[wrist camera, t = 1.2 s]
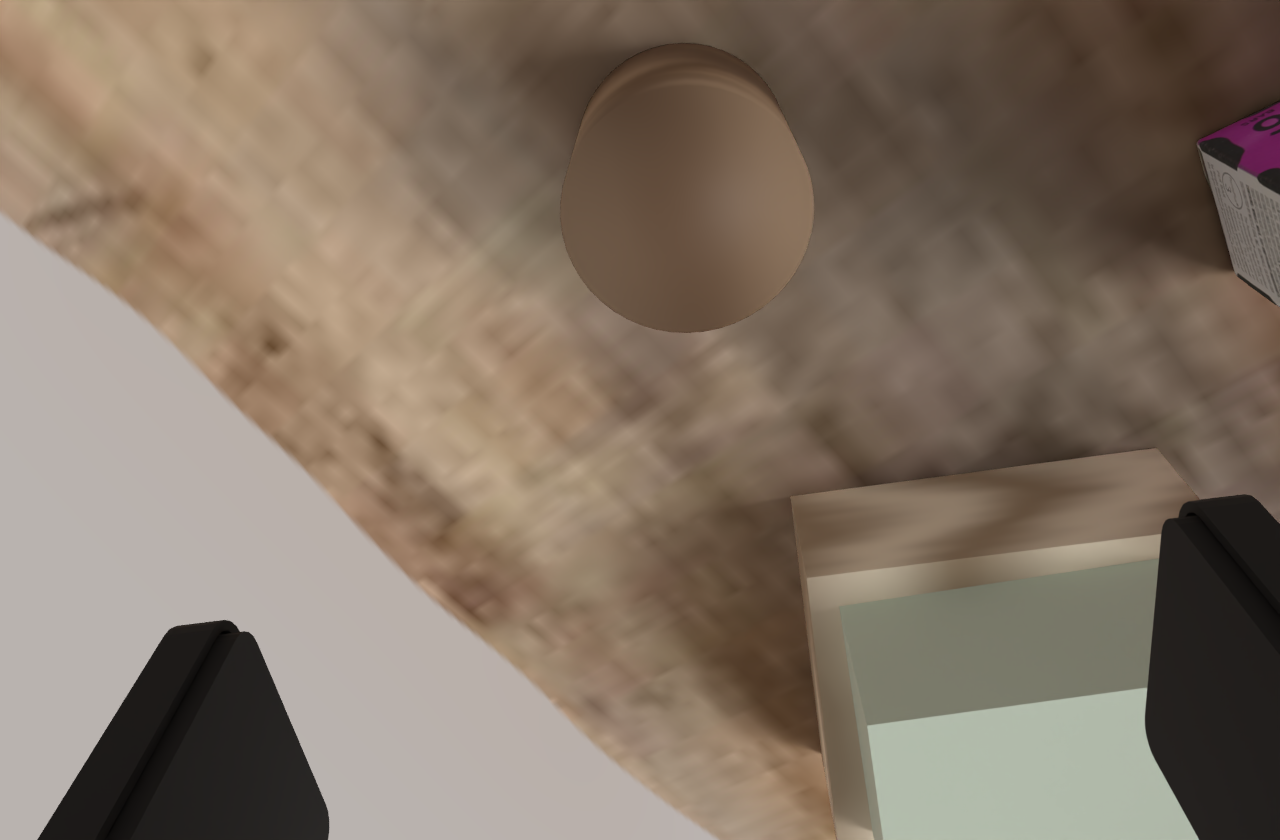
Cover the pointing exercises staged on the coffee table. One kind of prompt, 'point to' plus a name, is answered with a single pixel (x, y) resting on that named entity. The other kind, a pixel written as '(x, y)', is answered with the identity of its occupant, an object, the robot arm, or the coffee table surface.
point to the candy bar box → (1248, 195)
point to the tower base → (958, 560)
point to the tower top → (1012, 710)
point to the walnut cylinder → (685, 191)
